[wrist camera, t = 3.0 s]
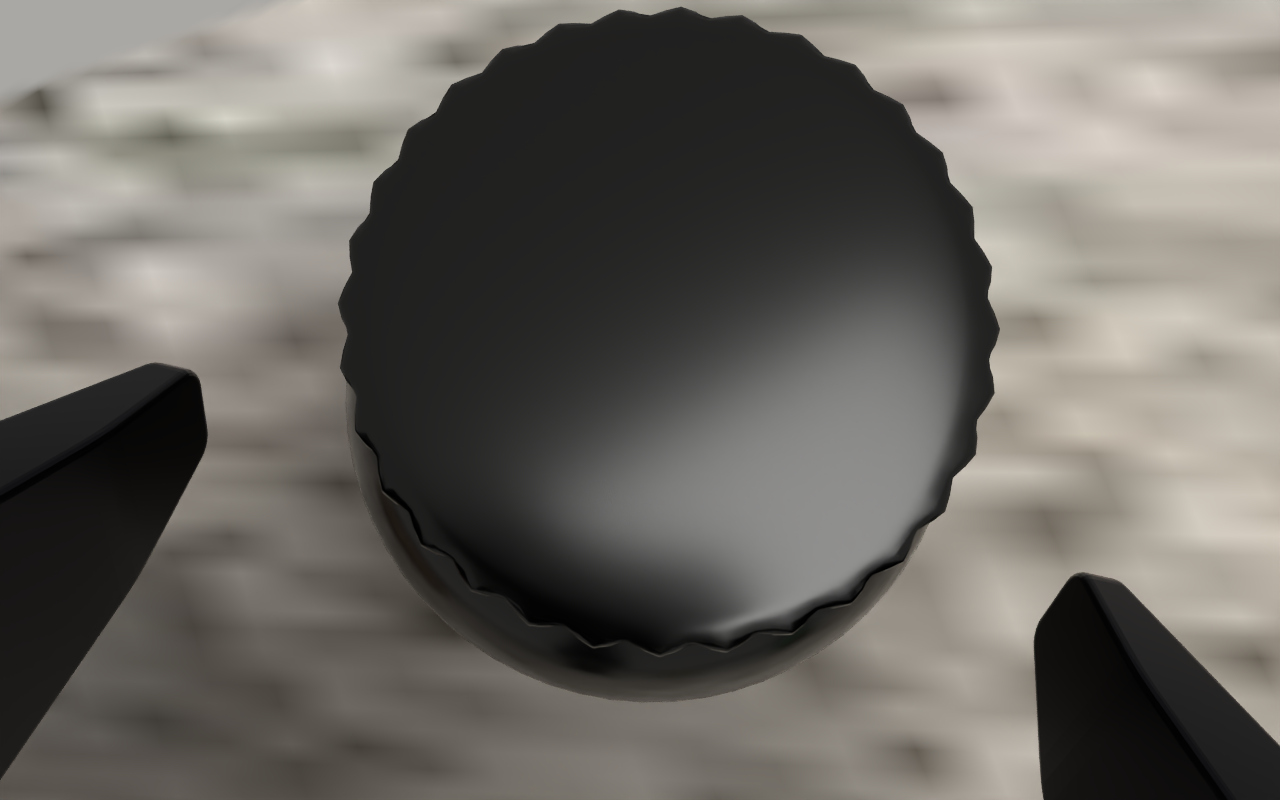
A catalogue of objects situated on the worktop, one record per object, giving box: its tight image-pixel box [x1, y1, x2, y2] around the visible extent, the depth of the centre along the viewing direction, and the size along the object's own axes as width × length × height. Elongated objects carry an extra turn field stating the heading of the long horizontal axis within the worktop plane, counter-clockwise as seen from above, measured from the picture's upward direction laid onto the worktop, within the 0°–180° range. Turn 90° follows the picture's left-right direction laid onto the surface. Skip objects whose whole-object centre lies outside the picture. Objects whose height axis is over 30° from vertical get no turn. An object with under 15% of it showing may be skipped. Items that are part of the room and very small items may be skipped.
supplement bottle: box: [338, 7, 1000, 702], centre depth 12 cm, size 7×7×12 cm
